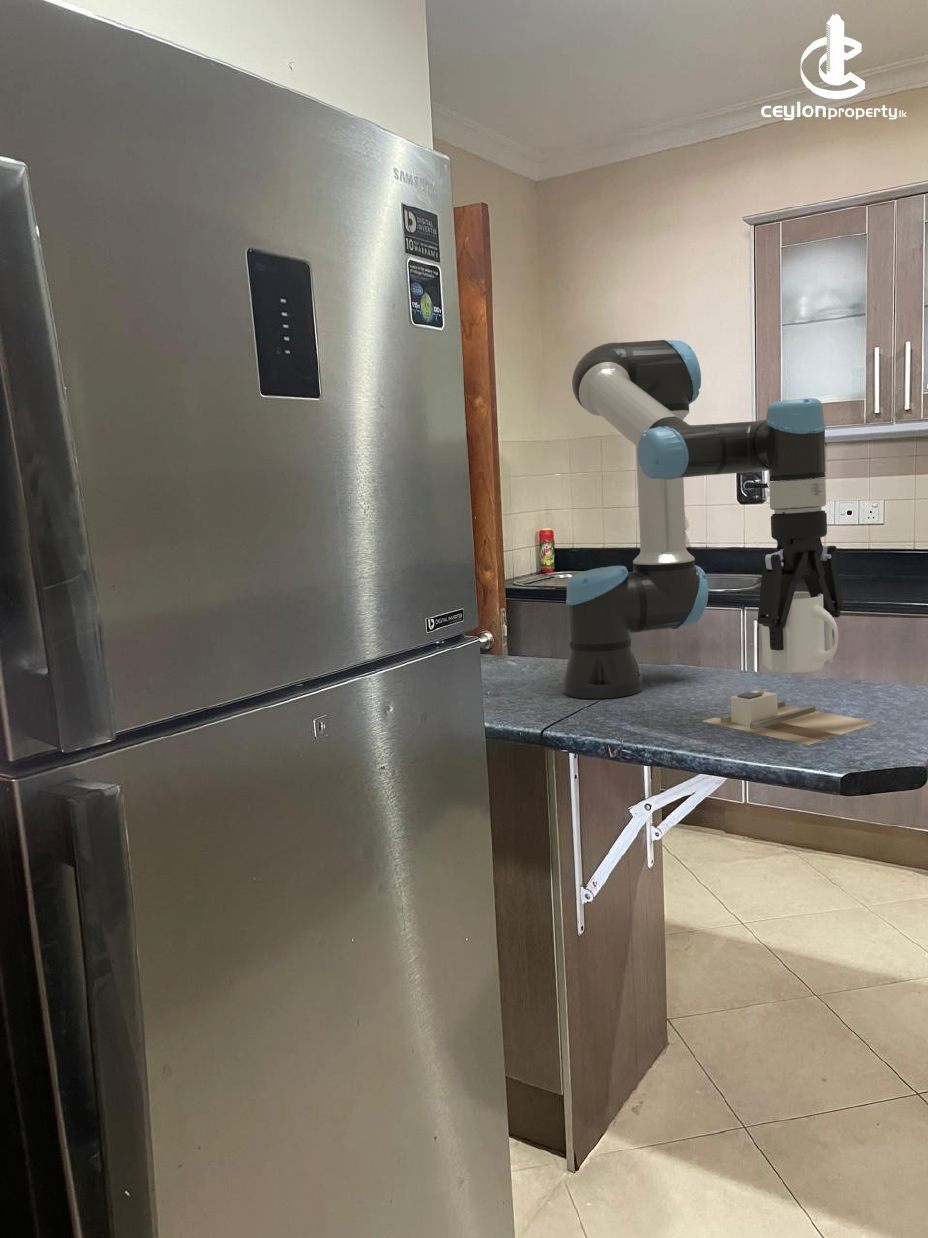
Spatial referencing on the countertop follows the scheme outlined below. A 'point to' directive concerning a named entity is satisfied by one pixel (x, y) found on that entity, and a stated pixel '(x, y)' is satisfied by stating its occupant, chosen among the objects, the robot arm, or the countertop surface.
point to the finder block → (753, 707)
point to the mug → (804, 634)
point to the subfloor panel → (797, 724)
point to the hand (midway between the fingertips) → (803, 666)
